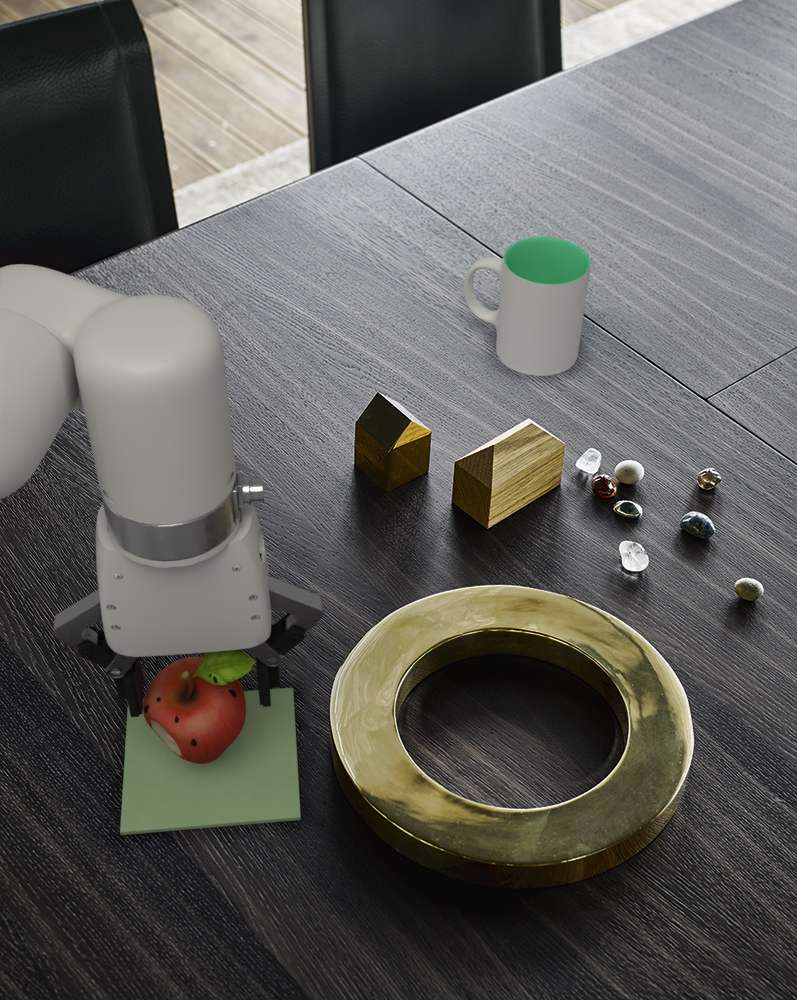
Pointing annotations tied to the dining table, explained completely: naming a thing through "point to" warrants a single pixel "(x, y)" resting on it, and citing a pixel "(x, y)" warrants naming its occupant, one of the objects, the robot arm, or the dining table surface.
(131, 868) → the dining table surface
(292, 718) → the cloth
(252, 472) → the dining table surface
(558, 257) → the mug
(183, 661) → the apple
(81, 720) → the dining table surface
